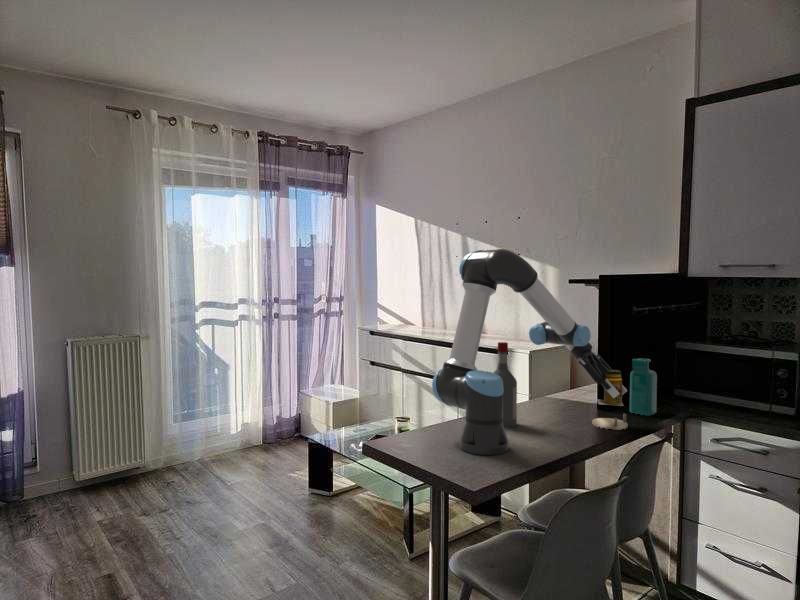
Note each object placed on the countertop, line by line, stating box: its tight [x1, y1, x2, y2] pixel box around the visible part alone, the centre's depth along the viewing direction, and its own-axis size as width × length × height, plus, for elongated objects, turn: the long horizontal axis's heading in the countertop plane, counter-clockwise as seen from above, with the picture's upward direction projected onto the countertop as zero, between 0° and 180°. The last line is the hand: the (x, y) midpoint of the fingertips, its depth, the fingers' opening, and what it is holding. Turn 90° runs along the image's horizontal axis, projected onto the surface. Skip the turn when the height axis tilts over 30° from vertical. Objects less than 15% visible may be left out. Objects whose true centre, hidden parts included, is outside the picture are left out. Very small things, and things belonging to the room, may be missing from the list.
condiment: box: [596, 369, 625, 407], centre depth 192 cm, size 7×8×12 cm
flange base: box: [591, 413, 629, 431], centre depth 192 cm, size 12×12×4 cm
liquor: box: [493, 341, 518, 428], centre depth 193 cm, size 9×9×30 cm
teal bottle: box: [629, 357, 658, 417], centre depth 210 cm, size 10×8×22 cm
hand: (620, 394), depth 189 cm, fingers closed on condiment, 6 cm apart
